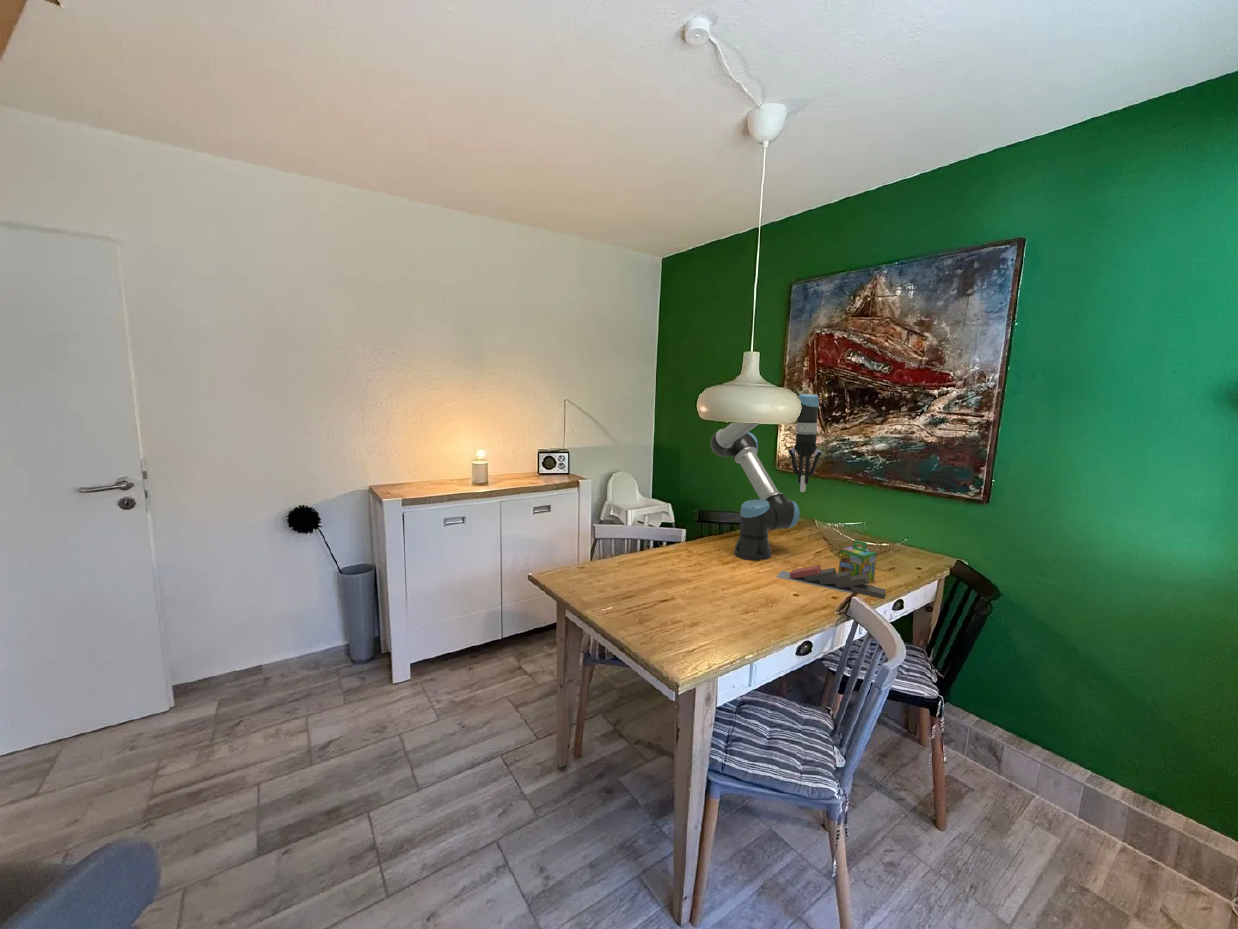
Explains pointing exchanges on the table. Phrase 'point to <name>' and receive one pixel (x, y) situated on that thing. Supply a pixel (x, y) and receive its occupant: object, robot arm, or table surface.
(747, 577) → the table surface
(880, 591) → the domino
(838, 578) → the domino
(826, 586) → the mat
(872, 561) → the chalk box
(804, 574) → the domino
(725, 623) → the table surface
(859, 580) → the domino
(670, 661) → the table surface
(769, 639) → the table surface
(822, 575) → the domino
